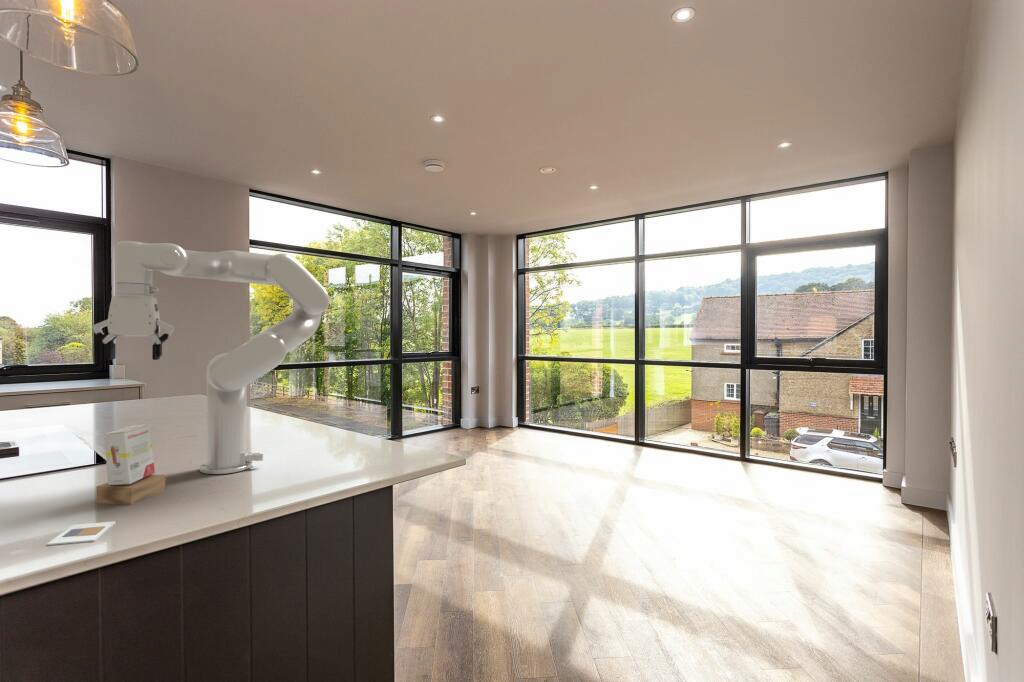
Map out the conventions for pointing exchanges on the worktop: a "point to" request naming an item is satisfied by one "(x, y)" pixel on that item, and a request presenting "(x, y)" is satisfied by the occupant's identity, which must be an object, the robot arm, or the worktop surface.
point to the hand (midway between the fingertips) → (133, 359)
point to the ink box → (129, 454)
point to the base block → (131, 490)
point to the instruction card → (82, 533)
